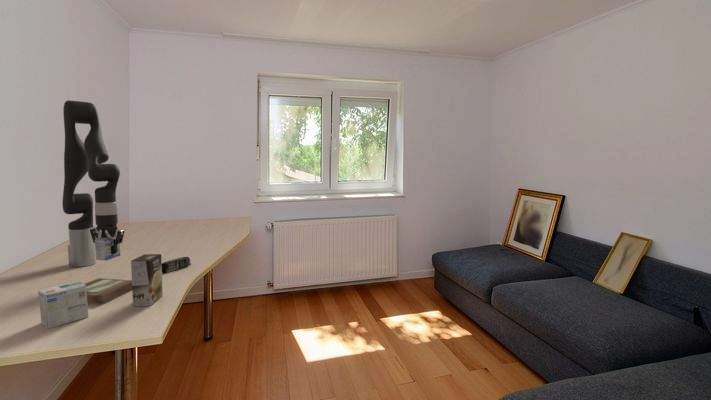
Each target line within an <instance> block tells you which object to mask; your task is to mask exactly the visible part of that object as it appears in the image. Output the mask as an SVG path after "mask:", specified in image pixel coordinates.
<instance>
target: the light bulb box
mask: <svg viewBox="0 0 711 400" xmlns="http://www.w3.org/2000/svg"><path fill="white" fill-rule="evenodd" d="M37 291H38V300H39V302H38V303H39V311H40V320H41V321H40V322H41V325H43V326H44V327H45V328H46V329H47V330H49V329H51V328H54V327H58V326H62V325H65V324H66V325H67V324H69V323H73V322H75V321H78V320H83V319H85V318H88V317H89V307H88V306H89V305H88V303H87V292H86V285H85V283H83V282H80V281H79V280H77V281H74V282H69V283H64V284H59V285H55V286H52V287H46V288H43V289H38V290H37Z"/></svg>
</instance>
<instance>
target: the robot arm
mask: <svg viewBox="0 0 711 400" xmlns="http://www.w3.org/2000/svg"><path fill="white" fill-rule="evenodd" d="M62 110H63V113H62V114H63V124H64V125H63V127H64V152H63V160H64V161H63V169H64V173H63V175H64V177H63V178H64V179H63V180H64V181H63V182H64V184H63V191H62V204H61V205H62V210H63V212H64V214H65V215H76V214H79V215H81V214H82V215H81V216H80V217H78V218H77V219H75V220H72V221H70V222H69V223H68V225H67V226H68V239H69V242H68V243H69V244H68V245H67V253H68V254H67V255H68V266H71V267H73V266H74V268H77V267H78V268H79V267H80V268H81V267H88V266H91V265H94V264H96V251H95V239H99V238H103V237H107V238H108V239H109V241H110V243H111V245H112V246H111V254H116V253H117V251H118V249H117V245H118V244H120V245H121V244H122V243H123V240H124V236H125V230H124V229H120V228H119V227H118V218H119V217H118V206H117V195H116V193H117V187H118V183H119V180H120V175H121V170H120V167H119V166H118V165H116V164H114V163H106V162H108V161H109V158H110V157H109V154H108V151H107V148H106V145H105V143H104V140H103V139H104V138H103V136H102V134H103V133H102V128H101V123H100V118H99V112H98V110H97V107H96V105H95V104H94V103H92V102H88V101H81V100H80V101H79V100H70V99H69V100H65V102H64V103H63V109H62ZM76 124H82V125H83V124H84V125H89V126H90V130H89V132H88V133H87V135H86V136H85V139H84V141H83V140H82V139H81V137H80V135H79V134H78V132H77V129H76ZM86 174H87V175H88V178H89V179H90V180H91V181H93V182H95V183H96V182H99V183H100V182H107V183H106V185H104V186H100V187H97V188H95V190H94V200H93V196H92V195H91V194H90V193H88V192H87V193H86V192H85V193H83V192H81V193H75V190H76V188H77V186H78V184H79V183H80V181H82V180H83V178H84V177H85V176H86ZM94 219H95V225H96V227H94ZM112 237H114V238H112ZM113 239H114V241H113Z"/></svg>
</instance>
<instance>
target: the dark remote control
mask: <svg viewBox="0 0 711 400" xmlns="http://www.w3.org/2000/svg"><path fill="white" fill-rule="evenodd" d="M190 265H192V263H191V258H190V257H189V256H183V257H182V256H181V257H178V258H173V259H170V260H167V261H164V262H162V274H167V272H168V273H171V272H175V271H177V269H178V270H182V269H185V268H187V267H189V266H190ZM174 270H175V271H174ZM170 271H171V272H170Z"/></svg>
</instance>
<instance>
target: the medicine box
mask: <svg viewBox="0 0 711 400" xmlns="http://www.w3.org/2000/svg"><path fill="white" fill-rule="evenodd" d="M112 238H114V237H112ZM113 241H114V239H113ZM94 245H95V261H103V262H104V261H109V260H112V259H115V258H117V257H120V256H121V243H120V244H118V245H117V249H118V251H117V253H116V254H111V246H112V245H111V243H110V241H109V239H108V238H107V237H103V238H99V239H95V243H94Z"/></svg>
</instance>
